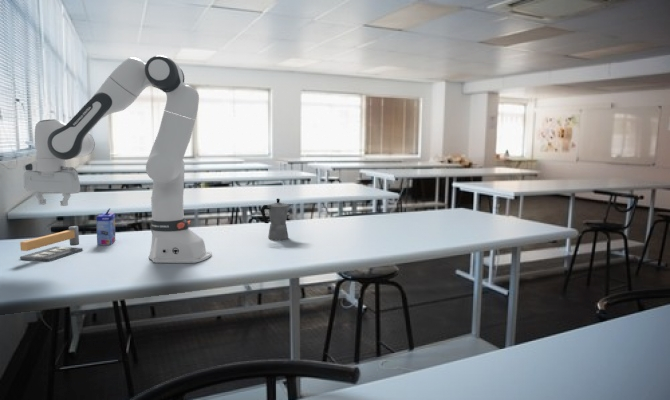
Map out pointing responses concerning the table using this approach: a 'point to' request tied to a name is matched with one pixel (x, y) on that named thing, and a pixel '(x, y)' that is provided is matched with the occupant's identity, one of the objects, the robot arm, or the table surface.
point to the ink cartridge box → (105, 228)
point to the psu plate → (51, 253)
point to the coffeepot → (277, 220)
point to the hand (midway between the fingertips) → (53, 205)
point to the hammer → (52, 239)
